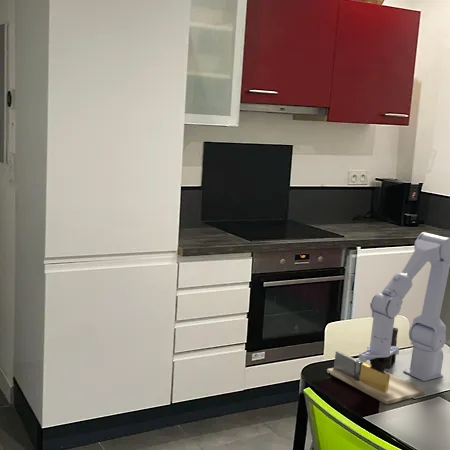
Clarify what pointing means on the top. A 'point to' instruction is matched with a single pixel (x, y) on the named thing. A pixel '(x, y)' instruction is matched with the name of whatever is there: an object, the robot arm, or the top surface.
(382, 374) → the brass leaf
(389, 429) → the top surface
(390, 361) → the door stopper
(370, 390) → the maple board
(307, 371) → the top surface
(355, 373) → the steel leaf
